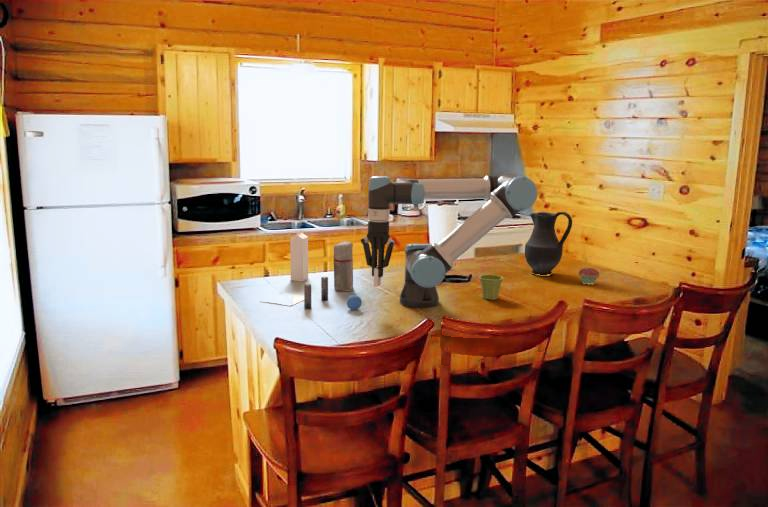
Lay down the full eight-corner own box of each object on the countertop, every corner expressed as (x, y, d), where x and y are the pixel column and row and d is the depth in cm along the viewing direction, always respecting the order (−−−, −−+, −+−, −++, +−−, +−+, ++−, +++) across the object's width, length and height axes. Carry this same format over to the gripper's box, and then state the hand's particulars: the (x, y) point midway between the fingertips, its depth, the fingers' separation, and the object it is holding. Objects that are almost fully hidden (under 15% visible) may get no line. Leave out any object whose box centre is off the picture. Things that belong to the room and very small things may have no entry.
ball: (364, 308, 228) (364, 294, 227) (357, 312, 223) (357, 298, 222) (350, 306, 230) (351, 292, 229) (344, 310, 226) (344, 296, 224)
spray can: (350, 292, 250) (350, 244, 246) (331, 291, 252) (331, 243, 248) (355, 287, 258) (356, 240, 254) (336, 286, 260) (336, 239, 256)
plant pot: (473, 296, 248) (474, 275, 246) (493, 294, 252) (494, 273, 250) (486, 302, 240) (487, 280, 238) (506, 300, 243) (507, 278, 241)
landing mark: (310, 297, 242) (310, 296, 242) (290, 306, 230) (290, 305, 230) (279, 293, 248) (279, 292, 248) (259, 301, 235) (259, 301, 235)
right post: (329, 299, 240) (329, 277, 238) (326, 301, 237) (325, 278, 235) (323, 298, 241) (323, 276, 239) (320, 300, 238) (320, 277, 236)
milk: (290, 280, 268) (289, 230, 264) (295, 277, 274) (294, 228, 270) (303, 281, 267) (302, 231, 262) (308, 278, 273) (307, 229, 268)
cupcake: (577, 285, 269) (579, 258, 266) (579, 280, 276) (581, 254, 274) (598, 287, 266) (600, 260, 263) (599, 282, 273) (601, 256, 271)
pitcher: (531, 268, 300) (535, 207, 294) (573, 274, 288) (579, 211, 282) (517, 274, 286) (521, 210, 280) (560, 281, 274) (565, 214, 268)
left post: (312, 307, 228) (312, 284, 226) (309, 309, 226) (308, 286, 224) (306, 307, 229) (306, 283, 227) (303, 308, 227) (302, 285, 225)
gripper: (357, 220, 216) (356, 285, 220) (391, 223, 210) (389, 290, 215) (366, 217, 222) (365, 281, 227) (399, 220, 217) (397, 285, 222)
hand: (377, 285), depth 221 cm, fingers closed
